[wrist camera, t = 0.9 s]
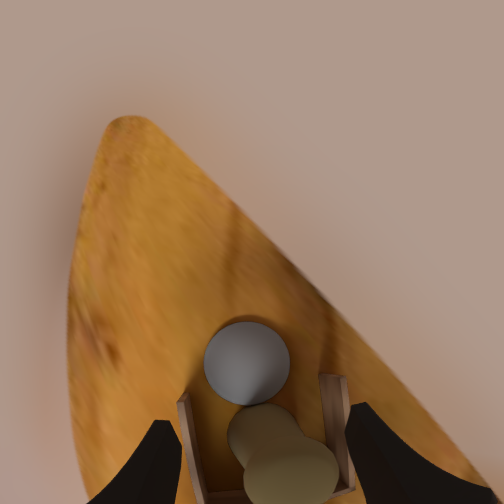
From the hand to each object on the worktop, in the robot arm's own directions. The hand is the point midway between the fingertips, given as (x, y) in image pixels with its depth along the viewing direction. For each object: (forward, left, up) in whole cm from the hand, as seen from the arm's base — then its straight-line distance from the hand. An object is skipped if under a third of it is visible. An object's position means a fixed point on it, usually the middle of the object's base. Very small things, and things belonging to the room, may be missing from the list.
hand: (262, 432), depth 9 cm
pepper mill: (-4, -2, -13) cm, 14 cm away
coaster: (+2, -1, -12) cm, 13 cm away
